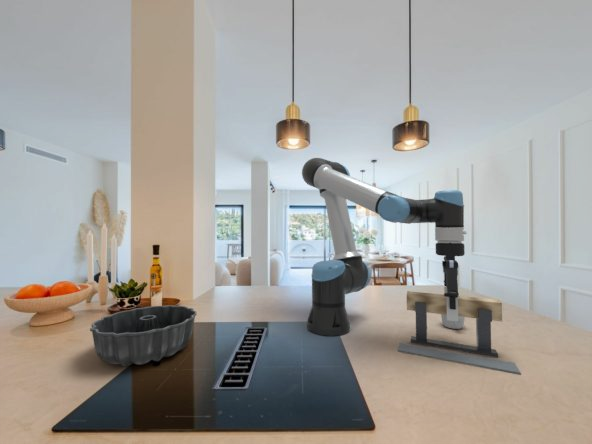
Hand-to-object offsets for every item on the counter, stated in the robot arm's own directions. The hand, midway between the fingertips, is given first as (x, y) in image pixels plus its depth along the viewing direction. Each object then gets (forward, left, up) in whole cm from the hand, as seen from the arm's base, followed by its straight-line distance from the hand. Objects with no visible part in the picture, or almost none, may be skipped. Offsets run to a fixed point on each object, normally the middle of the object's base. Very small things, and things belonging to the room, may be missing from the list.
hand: (450, 313), depth 81 cm
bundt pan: (-78, -42, -10) cm, 89 cm away
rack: (0, 0, -10) cm, 10 cm away
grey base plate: (0, -7, -10) cm, 12 cm away
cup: (+2, +19, -10) cm, 22 cm away
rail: (0, 0, 0) cm, 0 cm away
